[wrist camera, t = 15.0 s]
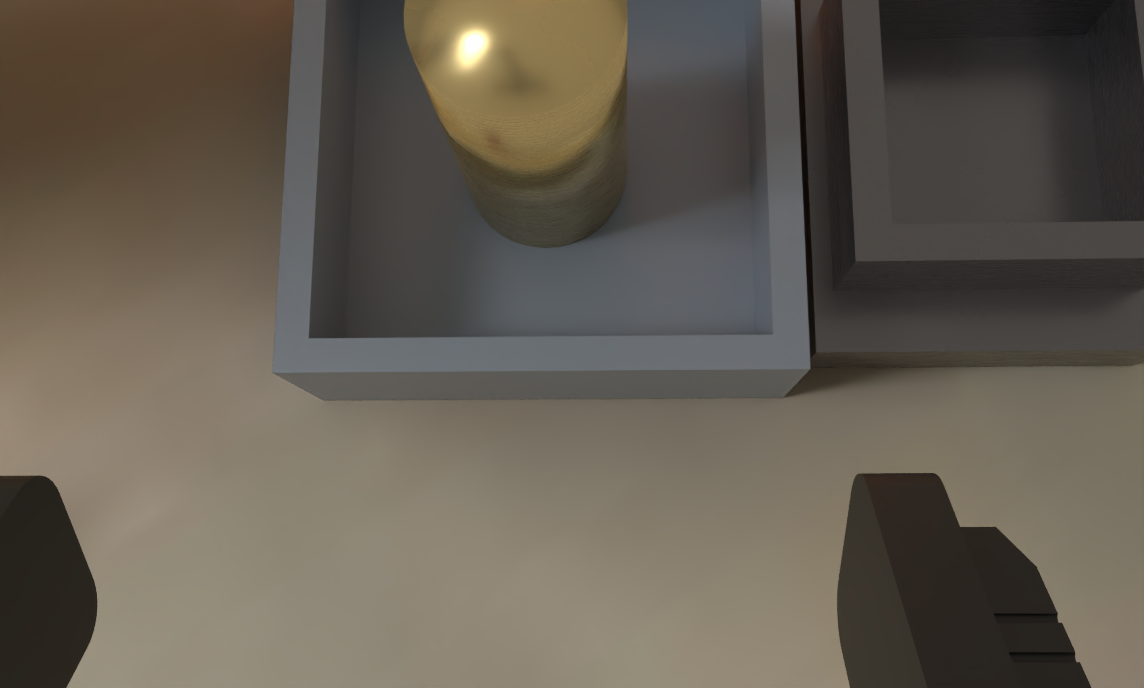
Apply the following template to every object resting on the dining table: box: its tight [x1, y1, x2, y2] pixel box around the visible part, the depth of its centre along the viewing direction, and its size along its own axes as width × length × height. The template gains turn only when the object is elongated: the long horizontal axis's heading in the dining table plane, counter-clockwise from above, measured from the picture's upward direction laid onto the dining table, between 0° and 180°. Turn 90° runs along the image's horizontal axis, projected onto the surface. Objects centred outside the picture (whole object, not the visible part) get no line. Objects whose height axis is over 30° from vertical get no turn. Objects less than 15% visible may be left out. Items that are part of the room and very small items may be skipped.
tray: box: [272, 0, 810, 400], centre depth 26 cm, size 12×12×4 cm
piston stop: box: [404, 0, 627, 248], centre depth 23 cm, size 4×4×8 cm
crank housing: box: [794, 0, 1144, 368], centre depth 25 cm, size 8×14×6 cm, turn 0°
